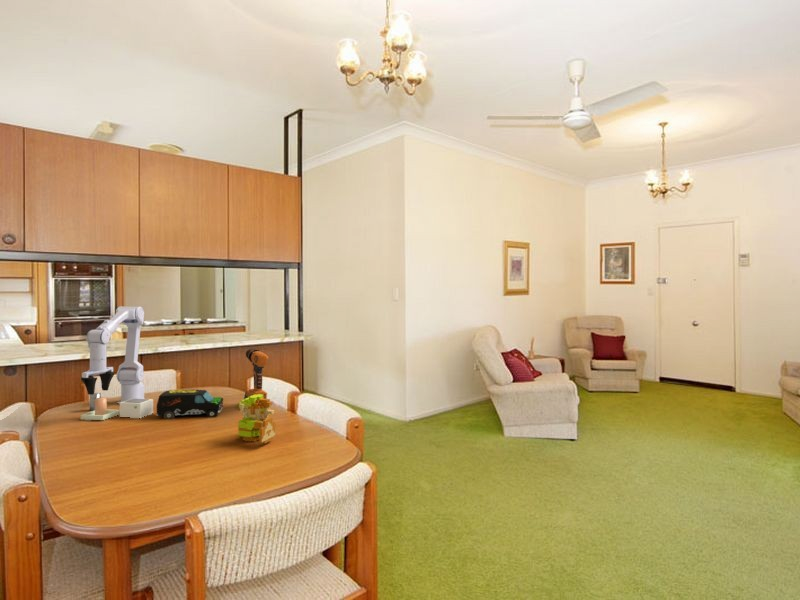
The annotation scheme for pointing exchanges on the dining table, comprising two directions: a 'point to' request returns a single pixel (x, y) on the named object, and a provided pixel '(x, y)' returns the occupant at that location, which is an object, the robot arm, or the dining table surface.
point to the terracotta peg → (101, 406)
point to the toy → (256, 419)
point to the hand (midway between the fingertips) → (98, 392)
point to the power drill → (257, 371)
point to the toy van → (188, 403)
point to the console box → (136, 408)
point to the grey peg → (92, 400)
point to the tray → (92, 415)
